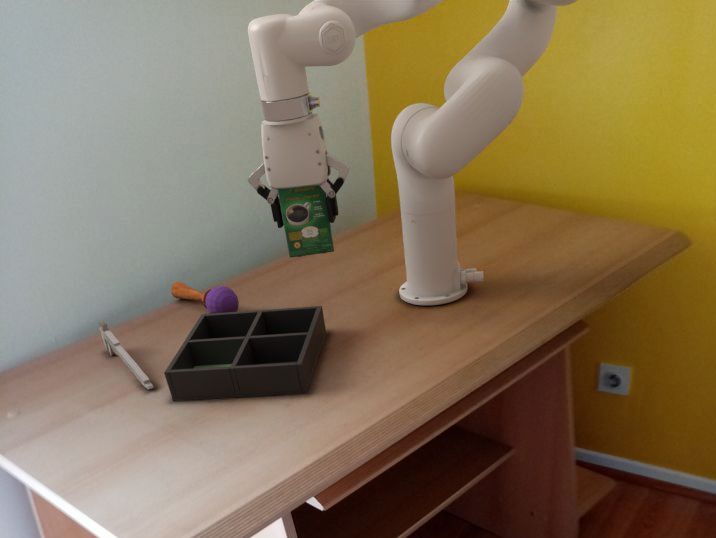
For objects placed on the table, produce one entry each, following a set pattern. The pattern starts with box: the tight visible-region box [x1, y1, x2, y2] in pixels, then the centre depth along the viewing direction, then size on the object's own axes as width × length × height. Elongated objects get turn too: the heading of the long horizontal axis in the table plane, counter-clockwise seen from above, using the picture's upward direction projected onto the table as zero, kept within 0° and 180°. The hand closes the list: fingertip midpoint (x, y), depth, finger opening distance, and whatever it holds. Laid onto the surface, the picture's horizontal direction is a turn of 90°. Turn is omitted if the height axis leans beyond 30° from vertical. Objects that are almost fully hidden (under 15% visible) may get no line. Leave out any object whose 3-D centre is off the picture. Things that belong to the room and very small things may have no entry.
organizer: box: [163, 305, 327, 402], centre depth 124 cm, size 21×21×5 cm
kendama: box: [170, 281, 240, 314], centre depth 146 cm, size 6×6×20 cm
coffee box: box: [278, 185, 335, 259], centre depth 127 cm, size 8×3×13 cm, turn 92°
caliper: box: [98, 320, 154, 391], centre depth 127 cm, size 20×1×6 cm, turn 35°
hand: (307, 222), depth 128 cm, fingers closed on coffee box, 8 cm apart
